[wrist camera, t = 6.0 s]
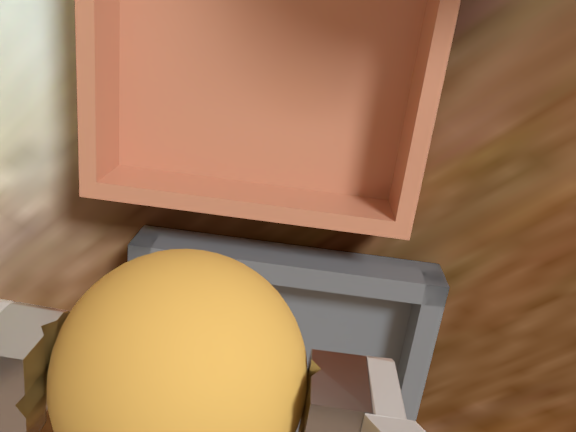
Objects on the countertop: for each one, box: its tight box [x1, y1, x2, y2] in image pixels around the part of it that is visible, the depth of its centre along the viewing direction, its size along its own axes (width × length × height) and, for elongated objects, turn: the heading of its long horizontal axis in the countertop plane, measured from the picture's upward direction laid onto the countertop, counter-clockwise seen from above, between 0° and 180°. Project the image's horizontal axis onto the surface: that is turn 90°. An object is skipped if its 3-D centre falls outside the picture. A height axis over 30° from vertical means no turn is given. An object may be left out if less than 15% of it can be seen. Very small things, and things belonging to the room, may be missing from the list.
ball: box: [47, 249, 308, 432], centre depth 10 cm, size 4×4×4 cm
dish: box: [75, 0, 461, 240], centre depth 21 cm, size 13×13×3 cm
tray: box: [128, 225, 449, 432], centre depth 26 cm, size 14×9×2 cm, turn 83°
